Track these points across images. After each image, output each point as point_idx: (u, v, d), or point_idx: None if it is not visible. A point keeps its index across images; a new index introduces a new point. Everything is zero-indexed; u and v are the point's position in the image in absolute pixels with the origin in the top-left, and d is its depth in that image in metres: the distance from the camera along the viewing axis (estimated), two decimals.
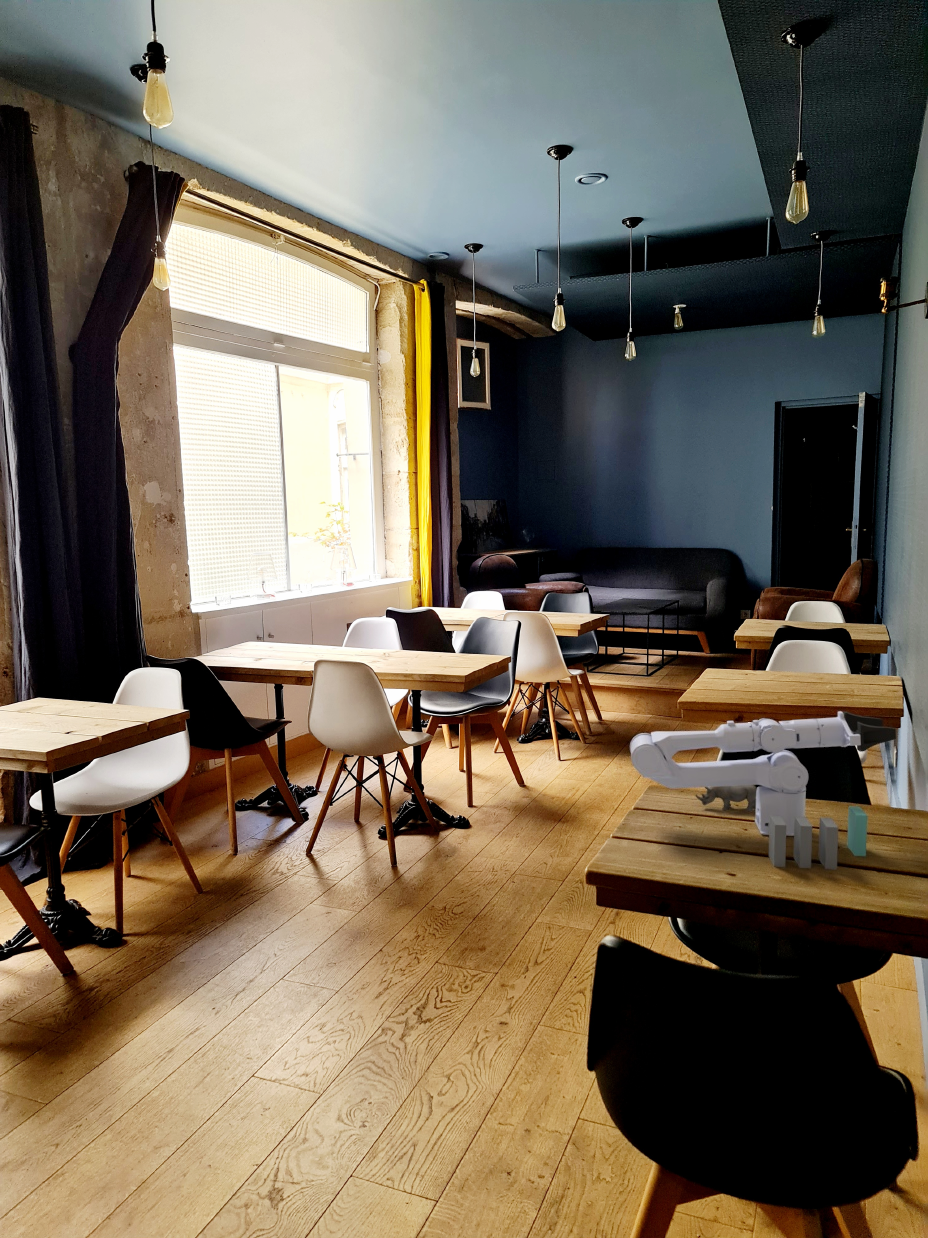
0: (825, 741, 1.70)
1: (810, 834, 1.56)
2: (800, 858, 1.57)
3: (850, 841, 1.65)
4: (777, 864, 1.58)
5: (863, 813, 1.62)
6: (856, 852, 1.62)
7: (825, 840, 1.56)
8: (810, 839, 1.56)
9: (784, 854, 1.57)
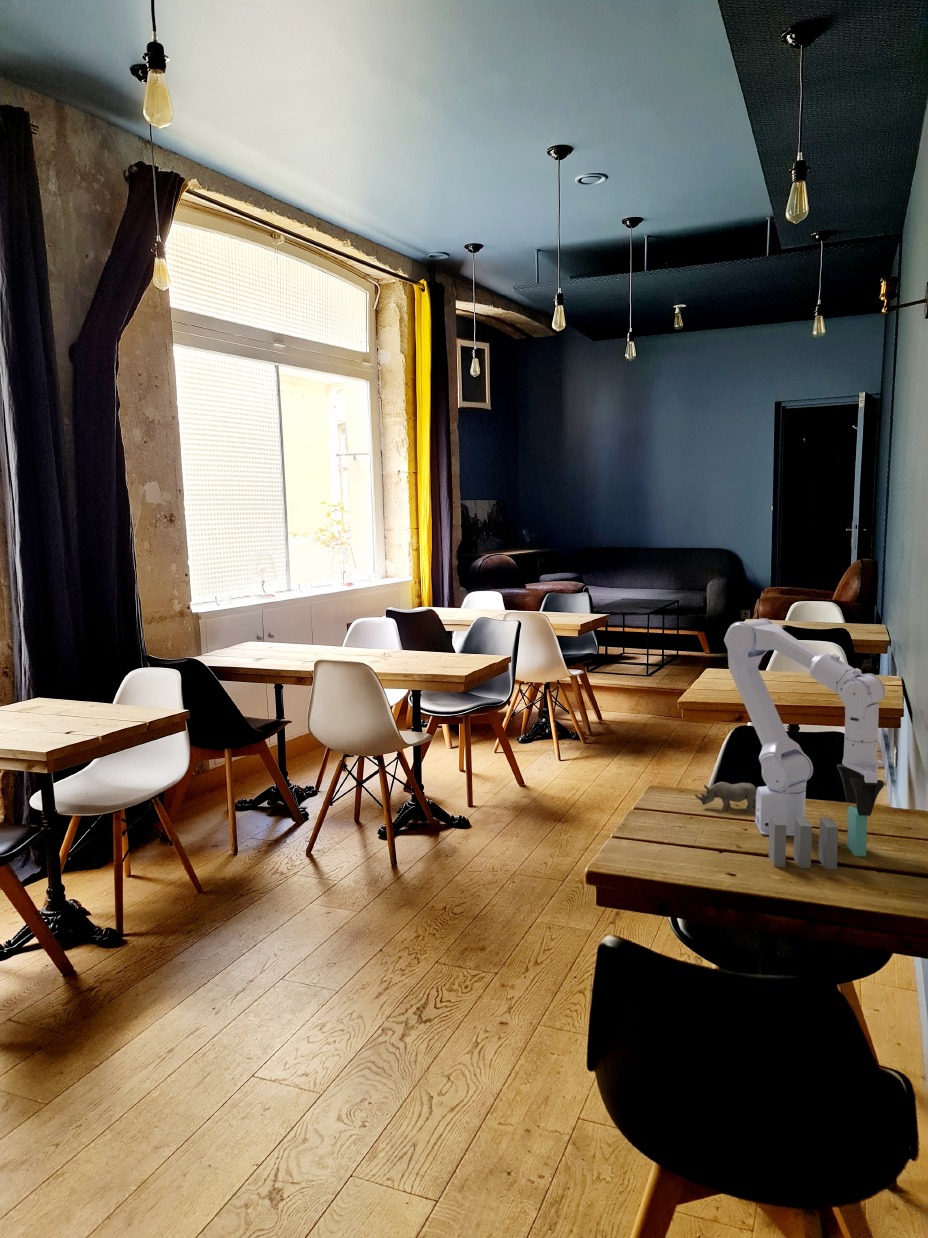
0: (858, 747, 1.60)
1: (810, 834, 1.56)
2: (800, 858, 1.57)
3: (850, 841, 1.65)
4: (777, 864, 1.58)
5: None
6: (856, 852, 1.62)
7: (825, 840, 1.56)
8: (810, 839, 1.56)
9: (784, 854, 1.57)
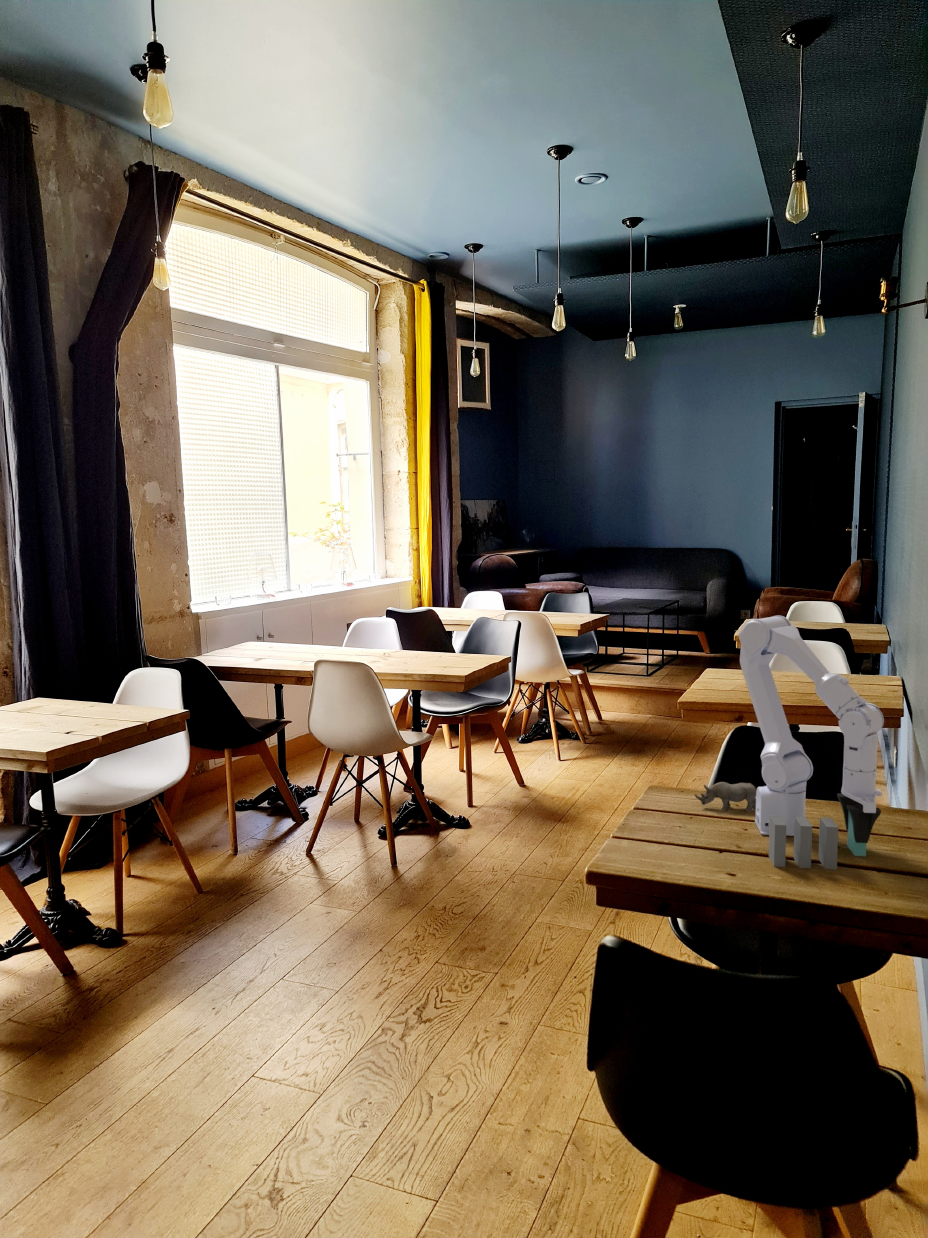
0: (857, 776, 1.60)
1: (810, 834, 1.56)
2: (800, 858, 1.57)
3: (850, 841, 1.65)
4: (777, 864, 1.58)
5: None
6: (856, 852, 1.62)
7: (825, 840, 1.56)
8: (810, 839, 1.56)
9: (784, 854, 1.57)
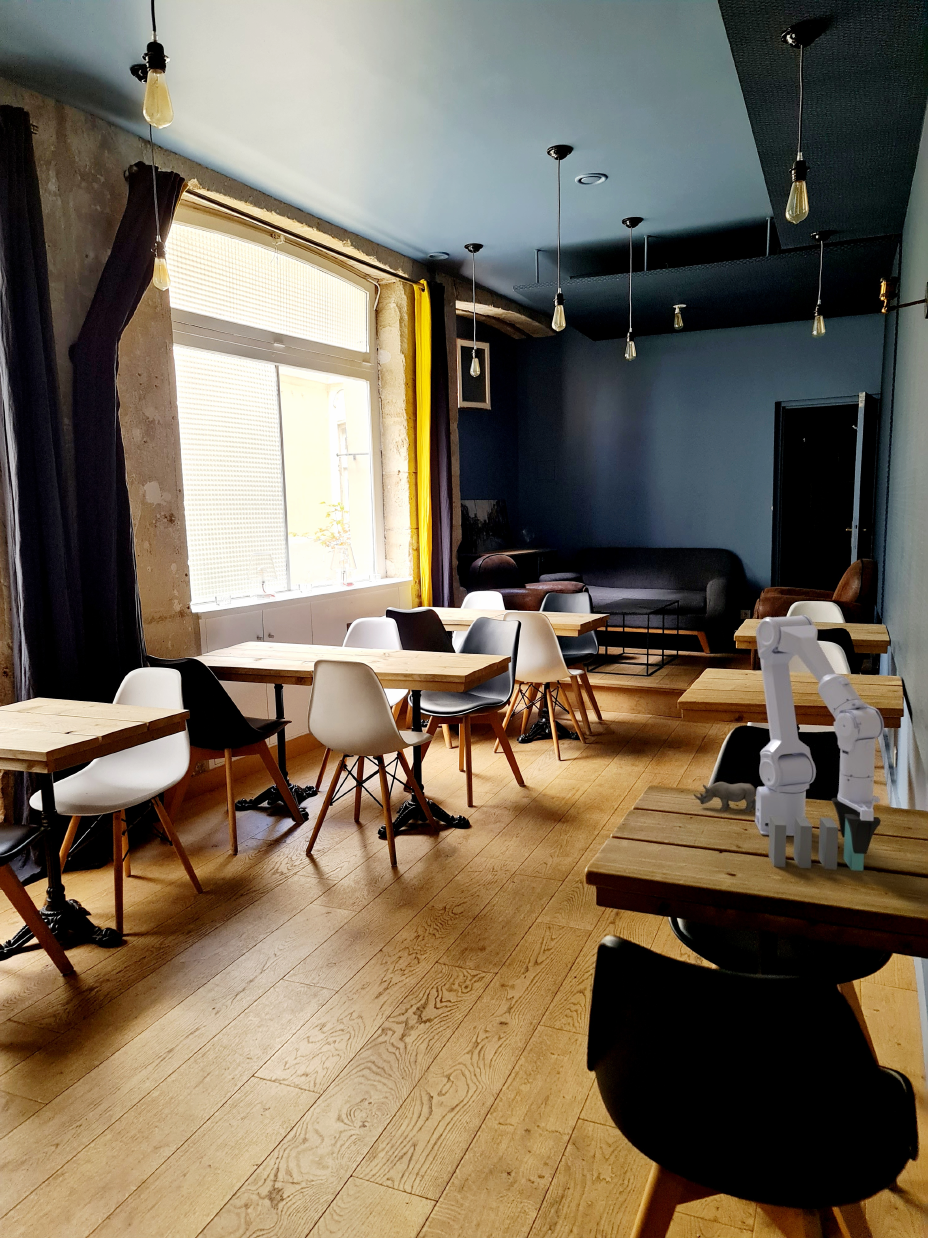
0: (853, 782, 1.54)
1: (810, 834, 1.56)
2: (800, 858, 1.57)
3: (847, 854, 1.58)
4: (777, 864, 1.58)
5: None
6: (853, 866, 1.56)
7: (825, 840, 1.56)
8: (810, 839, 1.56)
9: (784, 854, 1.57)
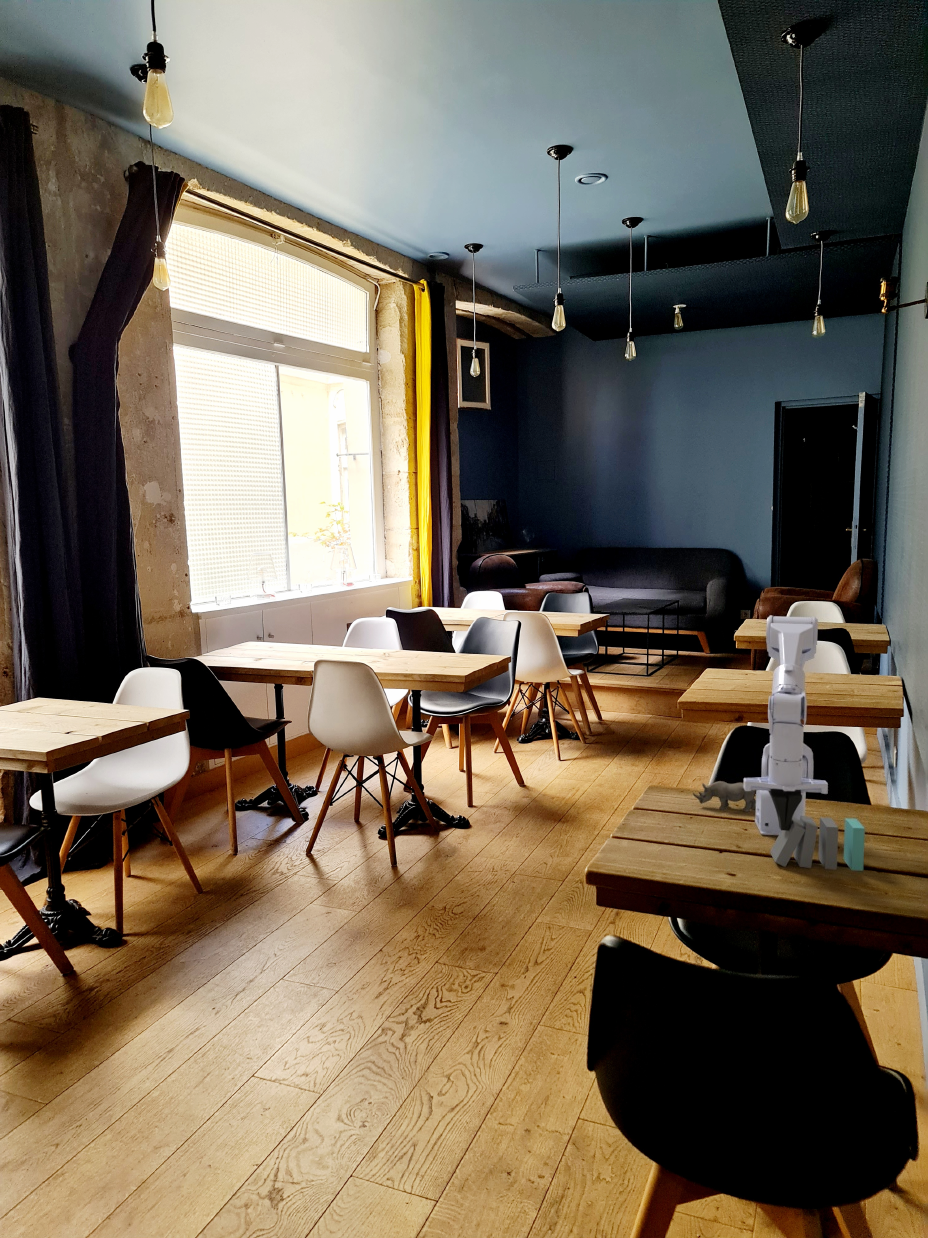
0: None
1: (815, 834, 1.56)
2: (801, 857, 1.57)
3: (847, 855, 1.58)
4: (779, 861, 1.58)
5: (860, 826, 1.56)
6: (853, 866, 1.56)
7: (825, 840, 1.56)
8: (814, 839, 1.56)
9: (790, 855, 1.57)
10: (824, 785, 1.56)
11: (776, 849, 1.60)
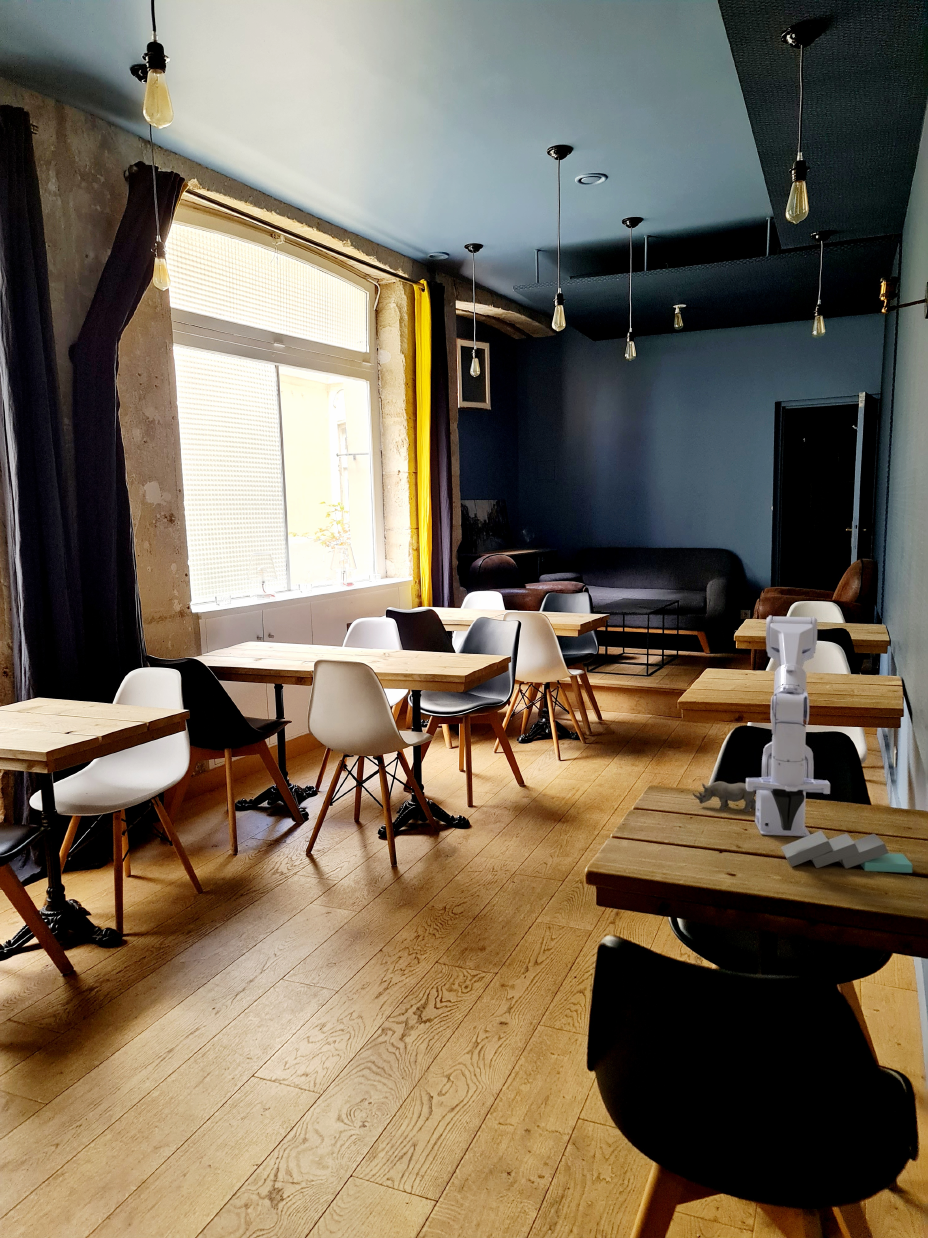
0: None
1: (850, 854, 1.56)
2: (822, 856, 1.56)
3: None
4: (790, 859, 1.57)
5: None
6: (869, 864, 1.55)
7: (868, 847, 1.56)
8: (845, 856, 1.56)
9: (803, 861, 1.57)
10: (826, 785, 1.56)
11: (792, 848, 1.59)
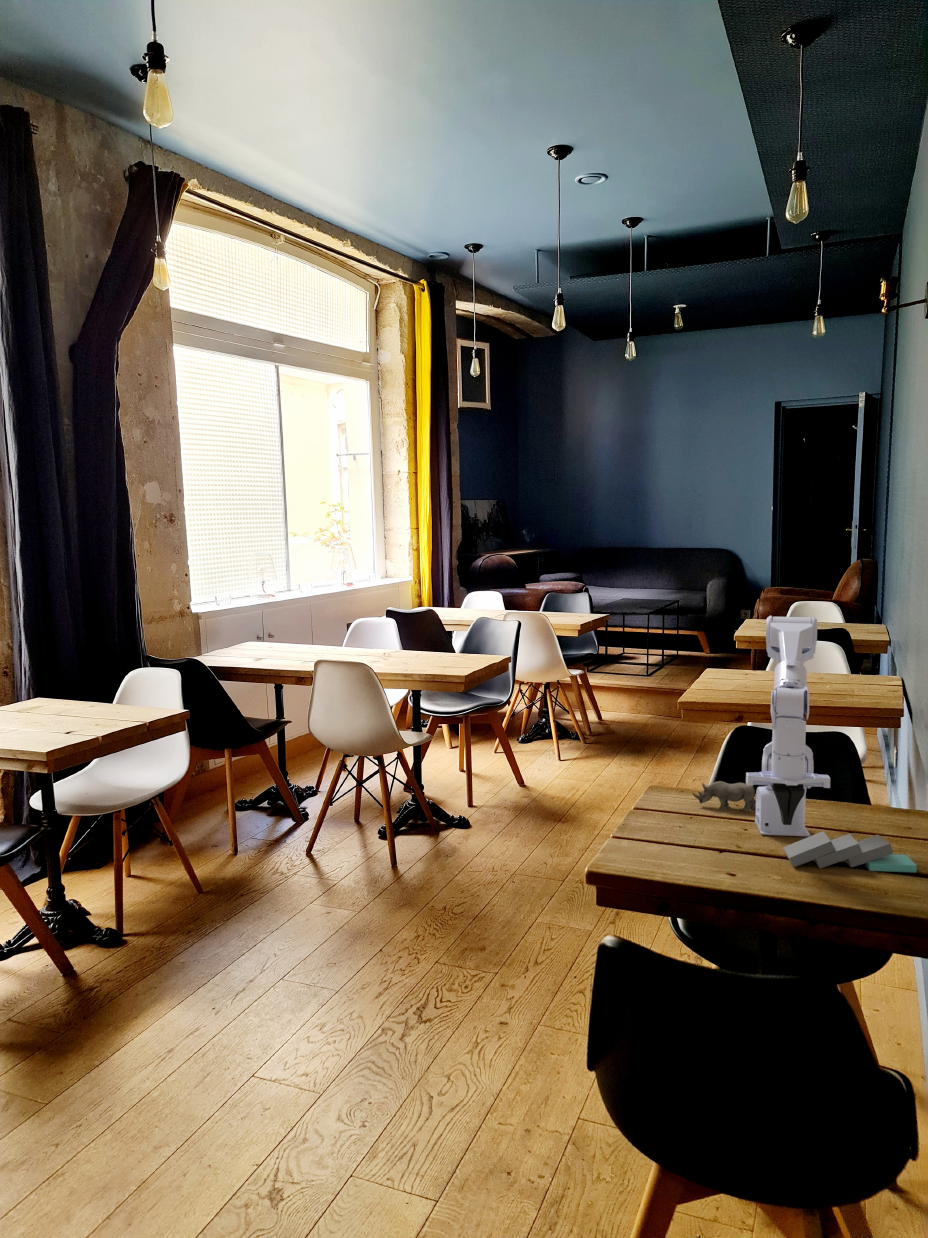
0: None
1: (853, 855, 1.56)
2: (825, 856, 1.56)
3: None
4: (793, 860, 1.57)
5: None
6: (873, 865, 1.55)
7: (874, 847, 1.56)
8: (849, 856, 1.56)
9: (806, 861, 1.57)
10: (827, 779, 1.56)
11: (794, 849, 1.59)
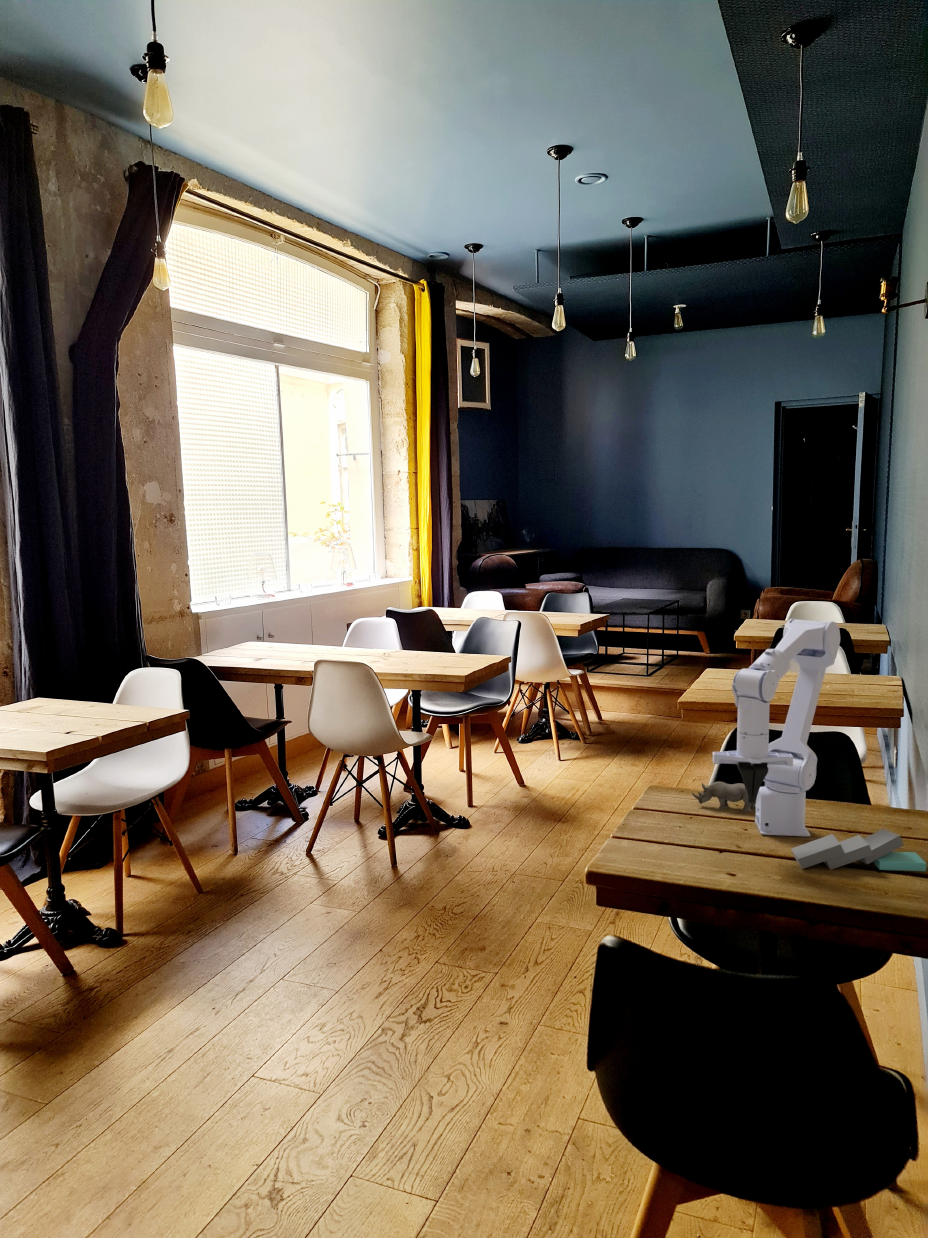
0: None
1: (864, 856, 1.55)
2: (836, 857, 1.56)
3: None
4: (801, 861, 1.56)
5: None
6: (883, 863, 1.56)
7: (885, 841, 1.57)
8: (859, 857, 1.55)
9: (814, 863, 1.56)
10: (789, 758, 1.61)
11: (803, 850, 1.58)
